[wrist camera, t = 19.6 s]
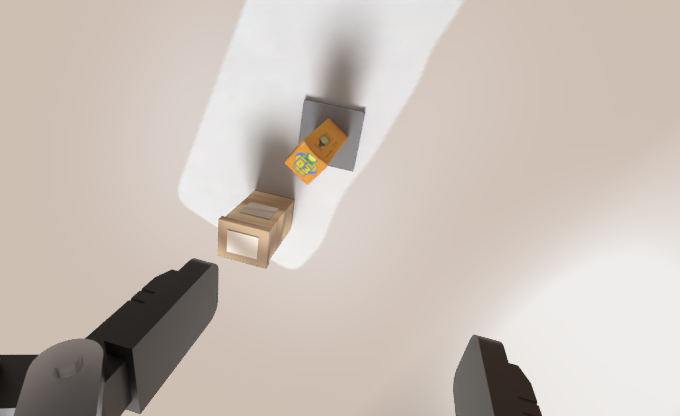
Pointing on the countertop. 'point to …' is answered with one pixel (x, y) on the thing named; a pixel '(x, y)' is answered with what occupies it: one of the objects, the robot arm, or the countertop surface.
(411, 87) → the countertop surface
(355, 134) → the coaster
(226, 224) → the box
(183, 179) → the countertop surface
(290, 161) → the supplement box
